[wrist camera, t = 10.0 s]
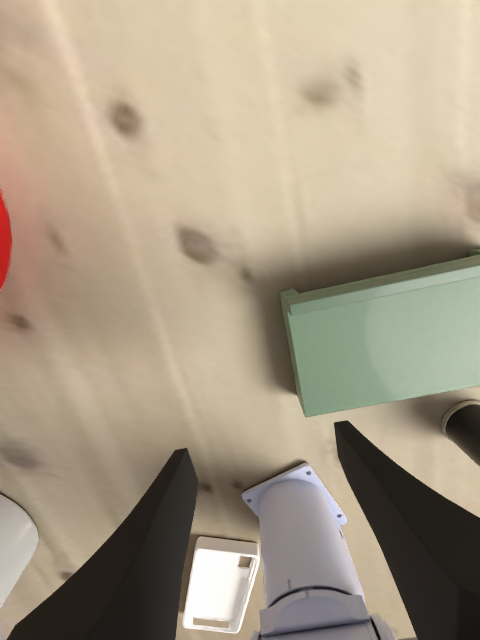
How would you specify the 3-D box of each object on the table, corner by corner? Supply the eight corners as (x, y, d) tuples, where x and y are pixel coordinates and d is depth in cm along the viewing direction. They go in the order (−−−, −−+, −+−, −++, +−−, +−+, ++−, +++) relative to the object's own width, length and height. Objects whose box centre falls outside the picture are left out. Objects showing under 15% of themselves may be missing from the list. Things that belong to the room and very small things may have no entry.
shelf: (477, 362, 22) (534, 391, 18) (297, 395, 23) (310, 431, 19) (485, 246, 19) (555, 248, 15) (278, 291, 20) (288, 304, 16)
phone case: (197, 534, 29) (183, 613, 33) (195, 548, 27) (181, 628, 32) (260, 542, 29) (238, 619, 33) (261, 556, 28) (238, 634, 32)
